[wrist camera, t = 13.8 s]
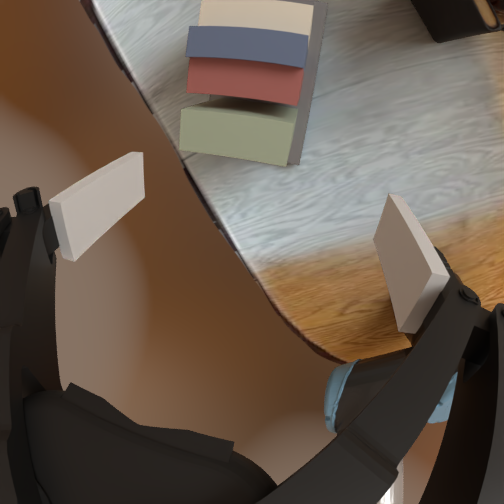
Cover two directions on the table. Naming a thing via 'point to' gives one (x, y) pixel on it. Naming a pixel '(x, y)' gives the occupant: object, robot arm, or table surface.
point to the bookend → (460, 17)
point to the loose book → (239, 130)
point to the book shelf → (259, 54)
